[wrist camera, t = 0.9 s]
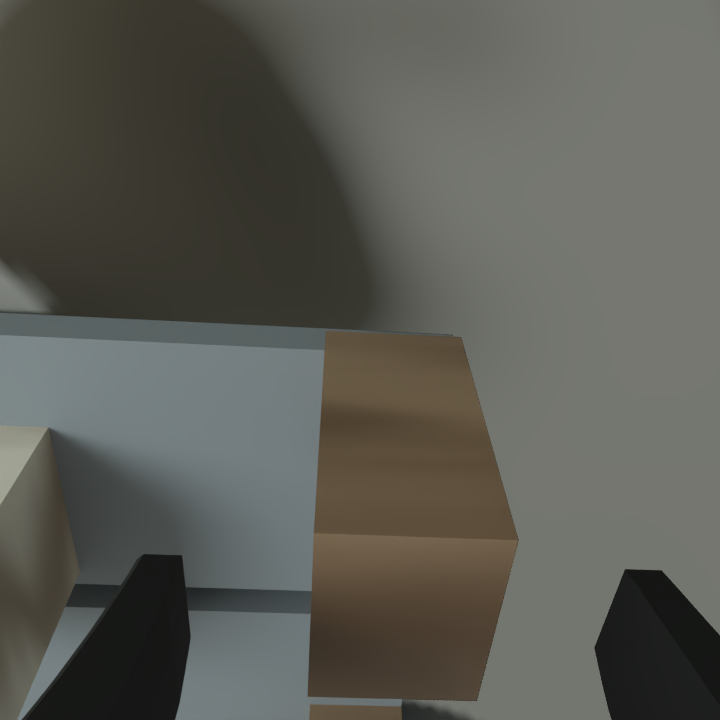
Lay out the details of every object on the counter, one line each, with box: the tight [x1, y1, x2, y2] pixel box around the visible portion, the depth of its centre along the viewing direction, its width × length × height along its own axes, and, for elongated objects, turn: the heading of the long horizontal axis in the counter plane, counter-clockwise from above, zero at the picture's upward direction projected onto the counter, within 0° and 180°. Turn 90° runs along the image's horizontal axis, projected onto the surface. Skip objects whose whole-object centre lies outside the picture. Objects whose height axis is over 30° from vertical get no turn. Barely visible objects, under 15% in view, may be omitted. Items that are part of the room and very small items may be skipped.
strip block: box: [0, 313, 518, 701], centre depth 15 cm, size 8×18×7 cm, turn 86°
